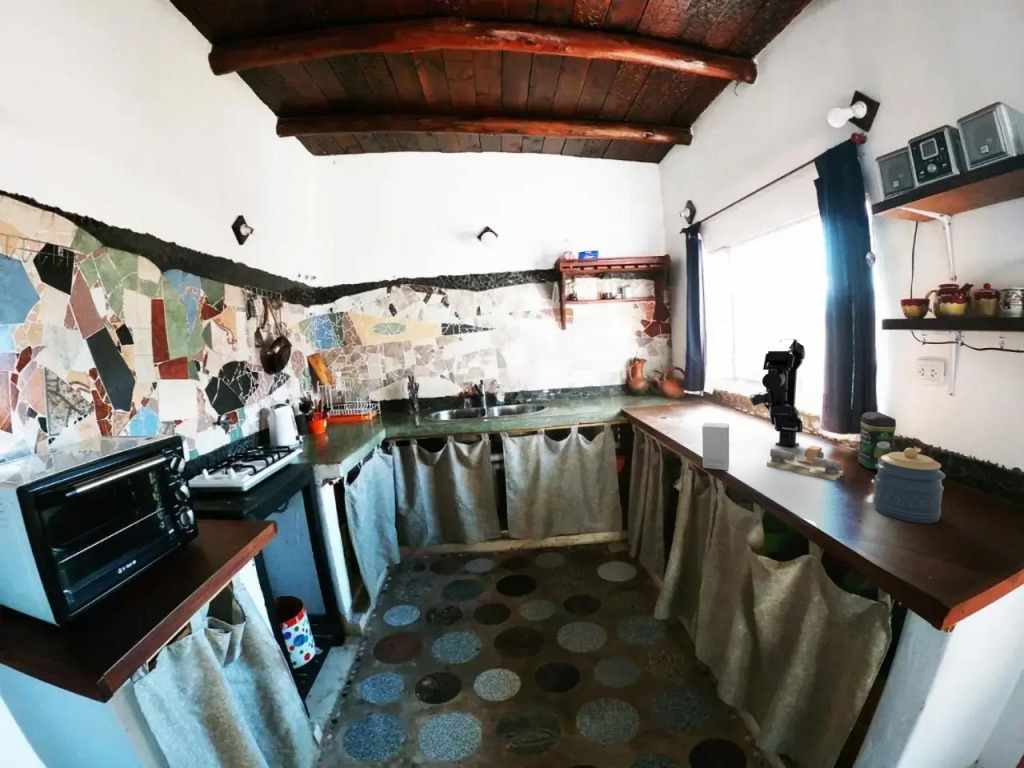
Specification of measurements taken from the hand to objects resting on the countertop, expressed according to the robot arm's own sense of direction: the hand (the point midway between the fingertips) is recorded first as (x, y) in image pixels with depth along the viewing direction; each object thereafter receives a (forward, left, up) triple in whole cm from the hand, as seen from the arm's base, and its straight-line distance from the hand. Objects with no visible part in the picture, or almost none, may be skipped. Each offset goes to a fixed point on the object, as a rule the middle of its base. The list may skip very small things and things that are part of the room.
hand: (775, 427), depth 148 cm
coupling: (-11, +9, -13) cm, 19 cm away
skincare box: (+19, -11, -13) cm, 26 cm away
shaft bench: (+1, +10, -13) cm, 16 cm away
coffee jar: (-19, +24, -13) cm, 33 cm away
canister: (+17, +39, -13) cm, 44 cm away
